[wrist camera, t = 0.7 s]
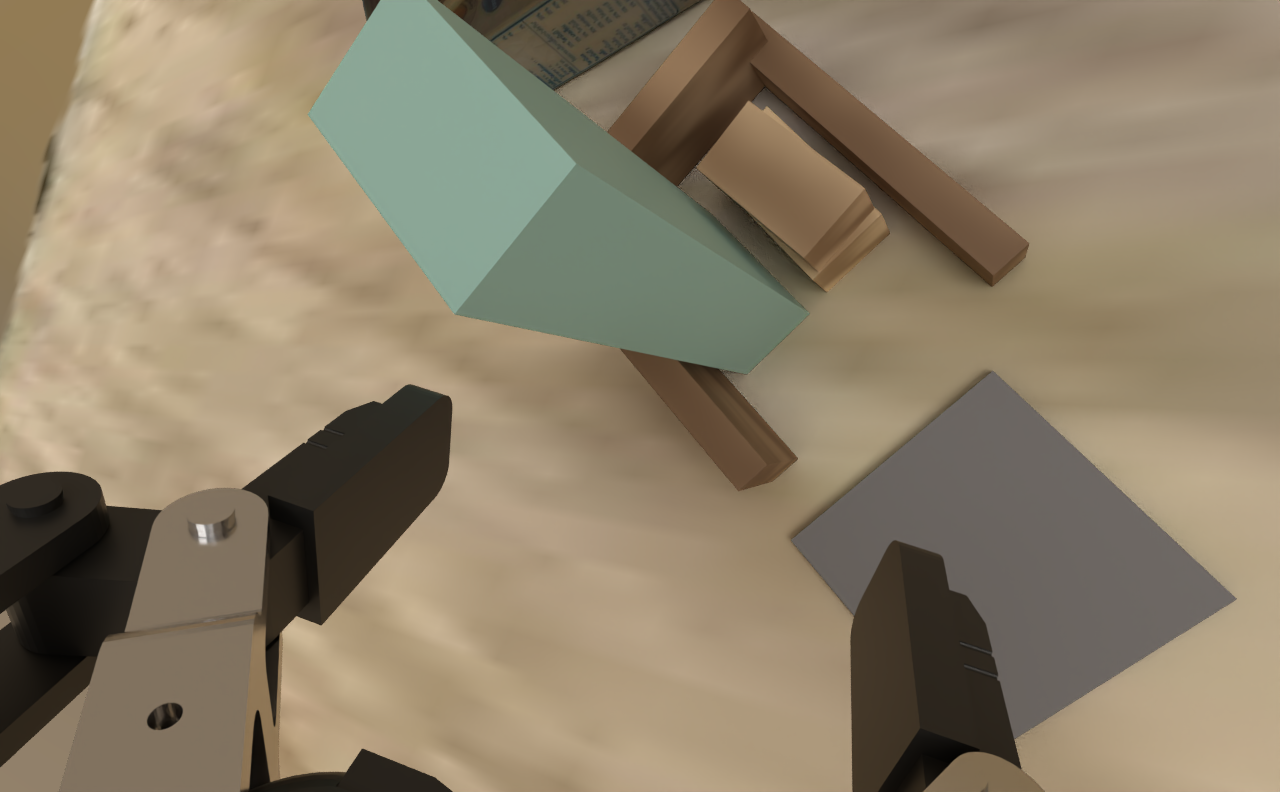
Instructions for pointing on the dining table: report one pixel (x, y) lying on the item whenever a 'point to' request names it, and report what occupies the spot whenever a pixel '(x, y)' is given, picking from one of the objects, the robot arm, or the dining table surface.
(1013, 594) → the pad
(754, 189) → the offcut top
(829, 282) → the offcut low
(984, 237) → the frame
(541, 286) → the tall teal pillar
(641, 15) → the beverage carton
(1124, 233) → the dining table surface
